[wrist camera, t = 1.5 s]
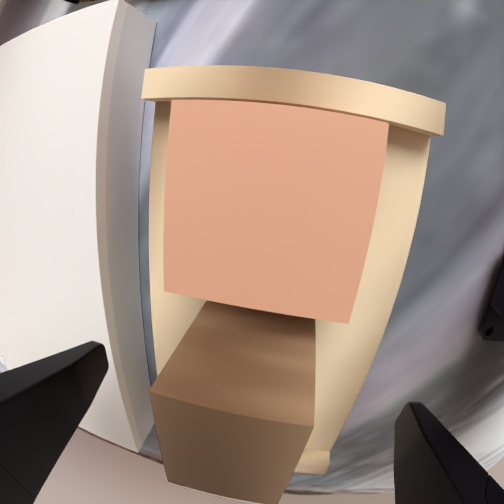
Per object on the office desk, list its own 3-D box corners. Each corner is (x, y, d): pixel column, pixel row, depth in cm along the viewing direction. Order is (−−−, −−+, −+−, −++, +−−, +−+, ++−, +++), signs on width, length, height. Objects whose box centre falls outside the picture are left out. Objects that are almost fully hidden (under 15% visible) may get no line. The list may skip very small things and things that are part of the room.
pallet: (413, 113, 9) (561, 78, 2) (325, 433, 15) (318, 554, 8) (181, 84, 11) (23, 31, 3) (176, 405, 16) (122, 511, 9)
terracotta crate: (355, 133, 8) (389, 122, 5) (334, 257, 10) (348, 323, 6) (225, 117, 9) (172, 99, 5) (215, 238, 10) (163, 291, 7)
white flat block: (156, 22, 9) (119, -3, 7) (156, 420, 17) (138, 452, 14) (8, 65, 11) (-28, 62, 8) (38, 368, 18) (16, 389, 16)
